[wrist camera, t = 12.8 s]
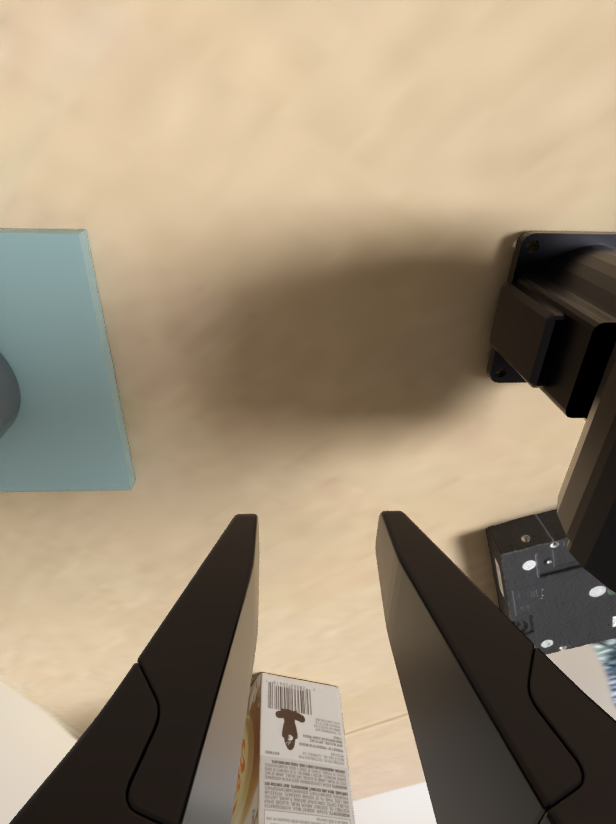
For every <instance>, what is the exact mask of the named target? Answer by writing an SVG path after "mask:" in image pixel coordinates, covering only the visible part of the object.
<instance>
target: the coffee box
mask: <svg viewBox="0 0 616 824" xmlns="http://www.w3.org/2000/svg"><path fill="white" fill-rule="evenodd" d="M231 824H355V819H354V811H353V802H352V794H351V785H350V776H349V768H348V760H347V752H346V743H345V732H344V725H343V716H342V707H341V699H340V691H339V688H338V687H335V686H330V685H325V684H320V683H315V682H309V681H304V680H298V679H293V678H288V677H283V676H278V675H273V674H268V673H260V674H259V675H258V677H257V678H256V680H255V681H254V683H253V684H252V686H251V687H250V693H249V700H248V707H247V714H246V721H245V728H244V735H243V742H242V749H241V757H240V764H239V771H238V778H237V785H236V792H235V799H234V806H233V813H232V821H231Z"/></svg>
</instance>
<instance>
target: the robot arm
mask: <svg viewBox="0 0 616 824" xmlns="http://www.w3.org/2000/svg"><path fill="white" fill-rule="evenodd" d="M531 240H534V241H535V245H534V247H533V248H532V249H531V250H528V251H527V244H528V243H529V242H530V241H531ZM490 344H491V345H492V350H491V354H490V358H489V362H488V367H487V374H488V376H489V377H490V378H491V379H492V380H493V381H494V382H498V383H517V382H527V383H528V384H529V385H530V386H531V387H533V388H540V389H541V390H542V391H543V392H544V393H545V394H546V395H547V396H548V397H549V398H550V399H551V401H552V402H553V403H554V404H555V405H556V406H557V407H558V408H559V409H560V410H561V411H562V412H563V413H564V414H565V415H566V416H567V417H570V418H584V419H585V420H586V423H585V425H584V428H583V431H582V434H581V436H580V439H579V442H578V444H577V447H576V450H575V452H574V455H573V458H572V460H571V463H570V466H569V468H568V471H567V474H566V477H565V479H564V482H563V485H562V487H561V490H560V493H559V495H558V506H557V515H558V517H559V520H560V522H561V524H562V527H563V529H564V531H565V534H566V536H567V537H568V539H569V541H568V544H567V549H568V551H569V552H570V553H571V555H572V556H573V557H574V558H575V559H576V560H577V561H578V562H579V563H580V565H581V566H582V567H583V568H584V569H585V570H586V571H587V572H588V573H589V574H590V575H592V576H593V577H594V578H595V579H597V580H598V581H599V582H600V583H602V584H603V585H604V586H605V587H607V588H608V589H609V590H610V591H612V592H613V593H615V594H616V232H556V231H530V232H526V233H524V234H523V235H521V237H520V238H519V239H518V241H517V244H516V247H515V252H514V256H513V260H512V264H511V269H510V273H509V277H508V281H507V283H506V284H505V285H504V286H503V287H502V289H501V293H500V297H499V301H498V306H497V310H496V315H495V319H494V323H493V328H492V332H491V336H490ZM502 367H503V370H502V372H500V373H498V374H496V371H497V370H498V369H499V368H502ZM376 558H377V565H378V572H379V579H380V586H381V594H382V601H383V608H384V615H385V621H386V627H387V632H388V637H389V641H390V645H391V649H392V653H393V657H394V660H395V664H396V668H397V672H398V676H399V680H400V683H401V687H402V691H403V695H404V699H405V703H406V707H407V710H408V714H409V718H410V722H411V726H412V730H413V733H414V737H415V741H416V745H417V749H418V753H419V756H420V760H421V764H422V768H423V772H424V776H425V779H426V783H427V787H428V791H429V795H430V799H431V802H432V806H433V810H434V814H435V818H436V822H437V824H616V721H615V720H614V719H613V718H612V717H611V716H610V715H609V714H608V713H606V712H605V711H604V710H603V709H602V708H601V707H600V706H599V705H597V704H596V703H595V702H594V701H593V700H592V699H591V698H590V697H588V696H587V695H586V694H585V693H584V692H583V691H582V690H581V689H580V688H579V687H578V686H577V685H575V683H574V682H573V681H572V680H570V679H569V678H568V677H567V676H566V675H565V674H564V673H563V672H562V671H561V670H560V669H559V668H558V667H557V666H556V665H555V664H554V663H553V662H552V661H551V660H550V659H549V658H548V657H547V656H546V655H545V654H544V653H543V652H542V651H541V650H540V649H539V648H534V646H535V645H534V643H533V642H532V641H531V640H530V639H529V638H528V637H527V636H526V635H525V634H524V633H523V632H522V631H521V630H520V629H519V628H518V627H517V626H516V625H515V624H514V623H513V622H512V621H511V620H510V619H509V618H508V617H507V616H506V615H505V614H504V613H503V612H502V611H501V610H500V609H499V608H498V607H497V606H496V605H495V604H494V603H493V602H492V601H491V600H490V599H489V598H488V597H487V596H486V595H485V594H484V593H483V592H482V591H481V590H480V589H479V588H478V587H477V586H476V585H475V584H474V583H473V582H472V581H471V580H470V579H469V578H468V577H467V576H466V575H465V574H464V573H463V572H462V571H461V570H460V569H459V568H458V567H457V566H456V565H455V564H454V563H453V562H452V561H451V560H450V559H449V558H448V557H447V556H446V555H445V554H444V553H443V552H442V551H441V550H440V549H439V548H438V547H437V546H436V545H435V544H434V543H433V542H432V541H431V540H430V539H429V538H428V537H427V536H426V535H425V534H424V533H423V532H422V531H421V530H420V529H419V528H418V527H417V526H416V525H415V524H414V523H413V522H412V521H411V520H410V519H409V518H408V516H407V515H406V514H404V513H403V512H401V511H383V512H381V513H380V516H379V521H378V529H377V536H376ZM258 596H259V527H258V516H257V515H256V514H237V515H236V516H235V517H234V518H233V519H232V521H231V522H230V524H229V525H228V527H227V528H226V530H225V531H224V533H223V534H222V535H221V537H220V538H219V540H218V541H217V543H216V544H215V546H214V547H213V549H212V550H211V552H210V553H209V555H208V556H207V558H206V559H205V560H204V562H203V563H202V565H201V566H200V568H199V569H198V571H197V572H196V574H195V575H194V577H193V578H192V580H191V581H190V583H189V584H188V586H187V587H186V588H185V590H184V591H183V593H182V594H181V596H180V597H179V599H178V600H177V602H176V603H175V605H174V606H173V608H172V609H171V611H170V612H169V614H168V615H167V616H166V618H165V619H164V621H163V622H162V624H161V625H160V627H159V628H158V630H157V631H156V633H155V634H154V636H153V637H152V639H151V640H150V642H149V643H148V644H147V646H146V647H145V649H144V650H143V652H142V653H141V655H140V656H139V658H138V660H137V662H138V663H135V664H134V665H133V666H132V668H131V669H130V671H129V672H128V674H127V675H126V677H125V678H124V679H123V681H122V682H121V684H120V685H119V687H118V688H117V690H116V691H115V692H114V694H113V695H112V696H111V698H110V699H109V701H108V702H107V703H106V705H105V706H104V708H103V709H102V710H101V712H100V713H99V715H98V716H97V717H96V718H95V720H94V721H93V722H92V723H91V725H90V726H89V727H88V728H87V730H86V731H85V732H84V733H83V735H82V736H81V737H80V738H79V740H78V741H77V742H76V743H75V745H74V746H73V747H72V749H71V750H70V751H69V752H68V753H67V755H66V756H65V757H64V758H63V760H62V761H61V762H60V763H59V764H58V765H57V767H56V768H55V769H54V770H53V771H52V773H51V774H50V775H49V777H47V779H46V780H45V781H44V782H43V784H42V785H41V786H40V787H39V788H38V789H37V791H36V792H35V793H34V794H33V795H32V797H31V798H30V799H29V800H28V801H27V803H26V804H25V805H24V806H23V808H22V809H21V810H20V811H19V812H18V814H17V815H16V816H15V817H14V818H13V820H12V821H11V822H10V823H9V824H231V821H232V813H233V806H234V799H235V792H236V785H237V778H238V771H239V764H240V757H241V749H242V742H243V735H244V728H245V721H246V714H247V707H248V700H249V693H250V685H251V678H252V671H253V664H254V657H255V650H256V642H257V631H258Z"/></svg>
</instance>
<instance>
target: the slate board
mask: <svg viewBox="0 0 616 824" xmlns="http://www.w3.org/2000/svg"><path fill="white" fill-rule="evenodd" d="M0 353H1V354H2V355H3V356H4V358H5V359H6V360H7V362H8V363H9V365H10V366H11V368H12V370H13V372H14V374H15V376H16V379H17V382H18V384H19V389H20V395H21V403H20V410H19V413H18V416H17V418H16V420H15V422H14V423H13V425H12V426H11V427H10V428H9V429H8V430H7V432H6V433H5V434H4V435H3V436H2V438H1V439H0V492H27V491H90V490H131V489H132V487H133V484H134V482H135V475H134V470H133V465H132V460H131V455H130V450H129V445H128V440H127V435H126V430H125V424H124V419H123V414H122V409H121V404H120V399H119V394H118V389H117V384H116V379H115V374H114V369H113V364H112V359H111V353H110V348H109V343H108V338H107V333H106V328H105V323H104V318H103V313H102V308H101V303H100V298H99V293H98V288H97V282H96V277H95V272H94V267H93V262H92V257H91V252H90V247H89V242H88V237H87V232H86V230H65V229H1V228H0Z"/></svg>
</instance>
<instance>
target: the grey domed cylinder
mask: <svg viewBox="0 0 616 824" xmlns="http://www.w3.org/2000/svg"><path fill="white" fill-rule="evenodd" d="M20 403H21V395H20V389H19V384H18V382H17V379H16V376H15V374H14V372H13V370H12V368H11V366H10V365H9V363H8V362H7V360H6V359H5V358H4V356H3V355H2V354H1V353H0V439H1V438H2V436H3V435H4V434H5V433H6V432H7V430H8V429H9V428H10V427H11V426H12V425H13V423H14V422H15V420H16V418H17V416H18V413H19V410H20Z"/></svg>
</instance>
